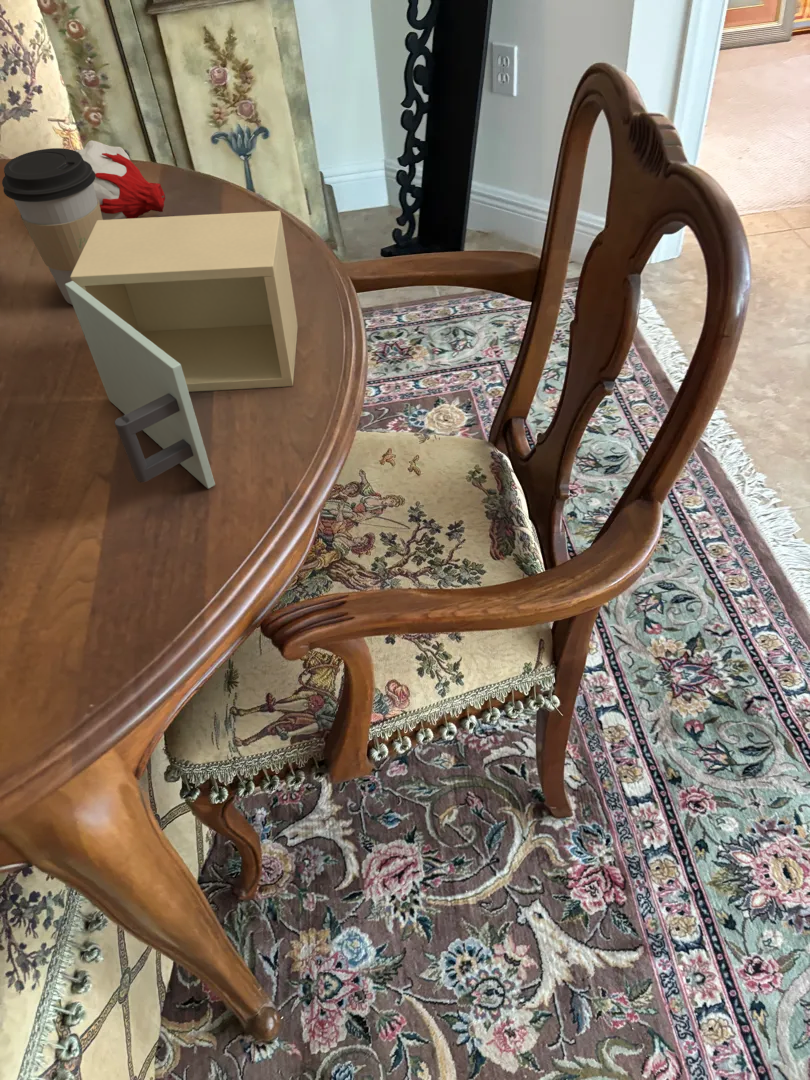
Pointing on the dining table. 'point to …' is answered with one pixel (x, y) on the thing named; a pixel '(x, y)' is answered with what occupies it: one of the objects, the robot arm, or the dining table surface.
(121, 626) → the dining table surface
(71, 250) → the coffee cup
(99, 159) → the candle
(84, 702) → the dining table surface
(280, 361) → the cupboard
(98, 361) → the cupboard door
